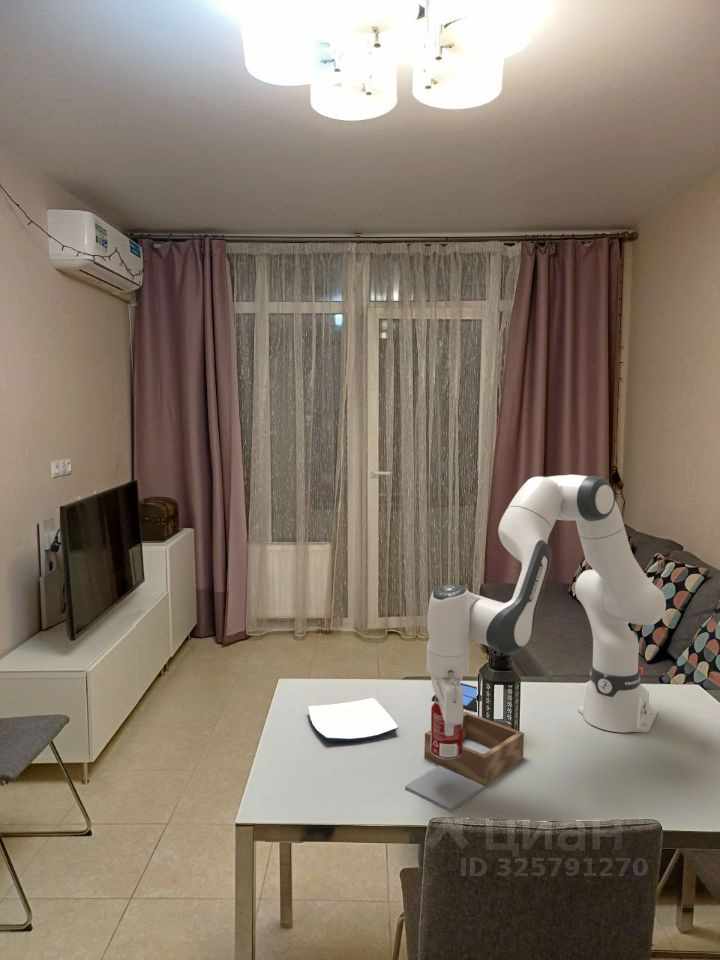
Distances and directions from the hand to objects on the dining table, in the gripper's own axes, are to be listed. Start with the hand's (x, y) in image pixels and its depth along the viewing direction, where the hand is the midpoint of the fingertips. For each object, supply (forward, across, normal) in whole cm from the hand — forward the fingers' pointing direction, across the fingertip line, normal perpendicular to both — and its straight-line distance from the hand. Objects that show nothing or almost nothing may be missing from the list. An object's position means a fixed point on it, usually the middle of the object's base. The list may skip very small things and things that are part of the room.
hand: (445, 726), depth 145 cm
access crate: (+14, +13, -9) cm, 21 cm away
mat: (+14, 0, 0) cm, 14 cm away
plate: (+14, +30, +19) cm, 39 cm away
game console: (+15, +46, -12) cm, 50 cm away
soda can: (+7, 0, 0) cm, 7 cm away
